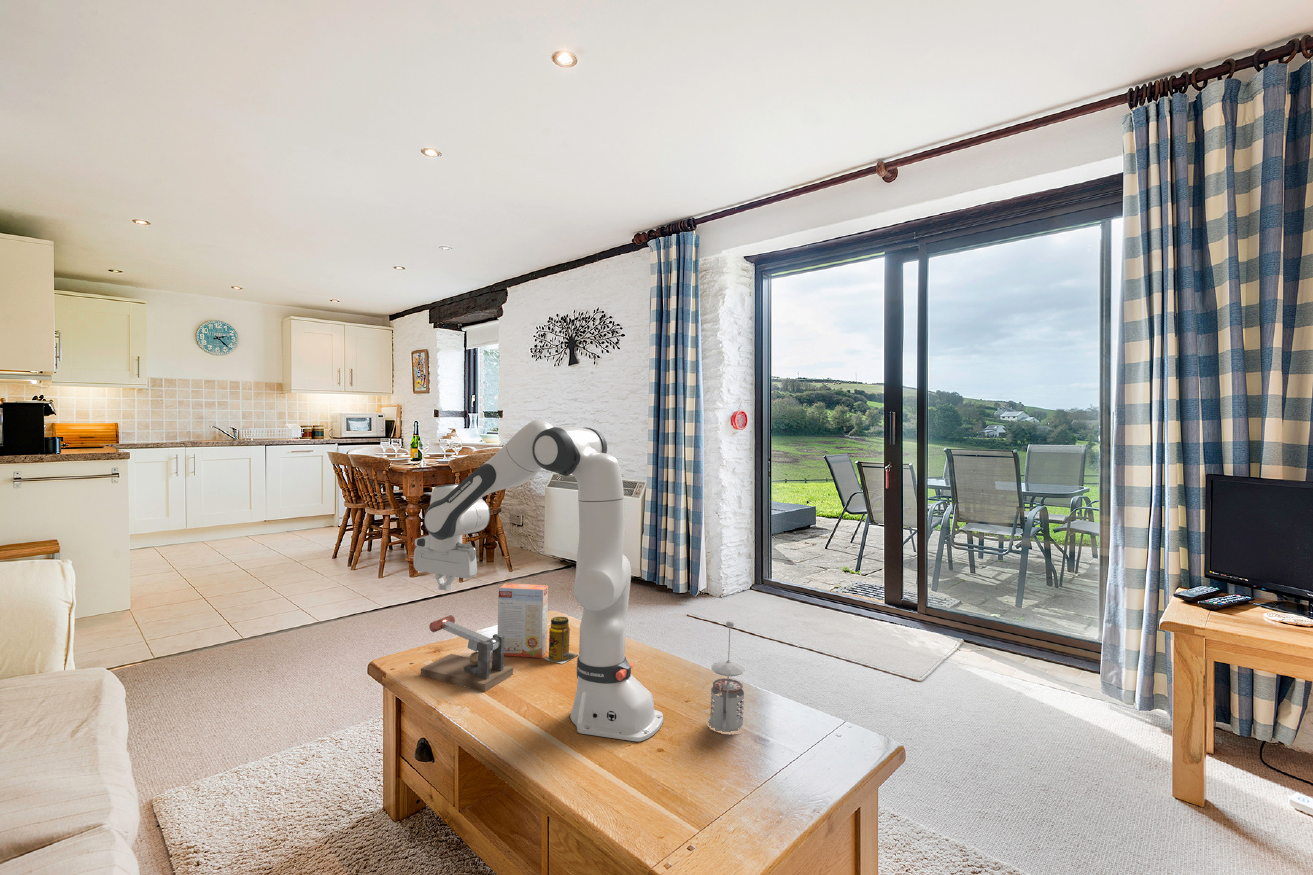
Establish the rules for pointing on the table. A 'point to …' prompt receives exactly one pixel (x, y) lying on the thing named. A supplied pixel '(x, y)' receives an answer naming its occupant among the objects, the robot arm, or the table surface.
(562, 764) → the table surface
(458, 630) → the lever
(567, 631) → the condiment
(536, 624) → the cracker box
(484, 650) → the tabletop arbor press
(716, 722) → the french press
